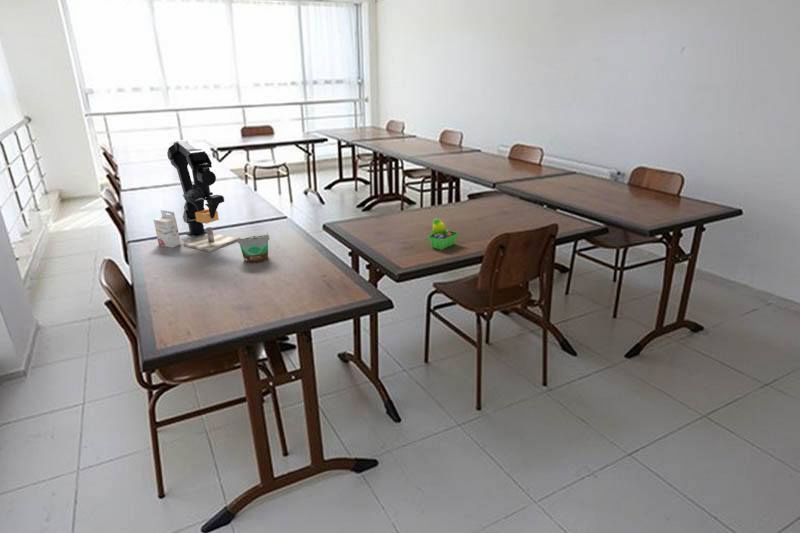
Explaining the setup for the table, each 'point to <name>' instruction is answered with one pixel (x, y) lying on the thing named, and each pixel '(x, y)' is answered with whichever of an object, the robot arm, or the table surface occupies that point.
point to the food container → (254, 248)
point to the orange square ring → (205, 216)
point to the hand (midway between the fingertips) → (207, 217)
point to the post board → (211, 241)
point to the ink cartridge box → (167, 229)
